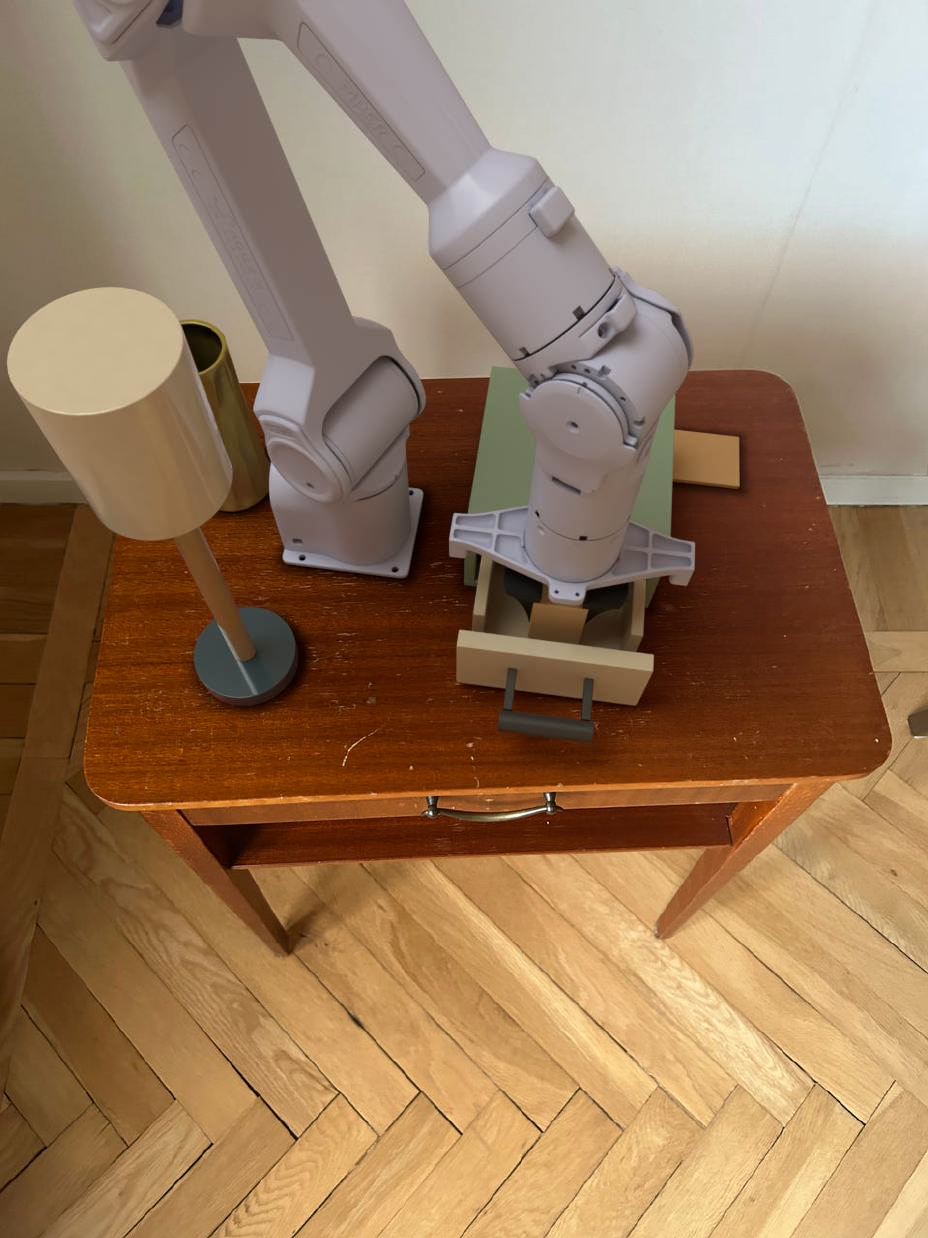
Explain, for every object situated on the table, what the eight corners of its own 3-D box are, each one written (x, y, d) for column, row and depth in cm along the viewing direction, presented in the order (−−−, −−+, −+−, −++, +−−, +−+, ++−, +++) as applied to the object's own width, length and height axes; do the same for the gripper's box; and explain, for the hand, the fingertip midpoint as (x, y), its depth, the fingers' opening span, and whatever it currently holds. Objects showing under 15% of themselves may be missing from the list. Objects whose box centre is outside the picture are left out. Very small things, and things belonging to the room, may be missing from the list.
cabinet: (647, 608, 64) (670, 553, 57) (463, 585, 65) (465, 528, 58) (654, 451, 71) (676, 386, 64) (488, 432, 72) (492, 365, 65)
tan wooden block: (526, 645, 60) (533, 603, 55) (532, 594, 62) (539, 550, 57) (576, 651, 60) (588, 610, 55) (581, 601, 62) (593, 556, 57)
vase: (260, 519, 67) (215, 390, 55) (184, 505, 68) (122, 375, 55) (283, 457, 70) (246, 321, 58) (210, 444, 71) (157, 307, 58)
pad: (662, 480, 70) (663, 477, 69) (664, 431, 72) (665, 428, 72) (738, 489, 69) (739, 486, 69) (737, 439, 72) (739, 436, 71)
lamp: (187, 699, 61) (-22, 403, 34) (214, 610, 64) (43, 277, 37) (286, 712, 60) (153, 424, 34) (308, 623, 63) (204, 295, 37)
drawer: (633, 766, 58) (650, 736, 53) (447, 741, 58) (446, 708, 53) (644, 540, 66) (660, 495, 61) (481, 520, 67) (483, 474, 61)
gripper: (440, 542, 47) (442, 651, 59) (714, 576, 46) (660, 680, 58) (458, 438, 50) (457, 562, 62) (715, 468, 49) (663, 588, 61)
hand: (556, 613), depth 60 cm, fingers closed on tan wooden block, 2 cm apart
